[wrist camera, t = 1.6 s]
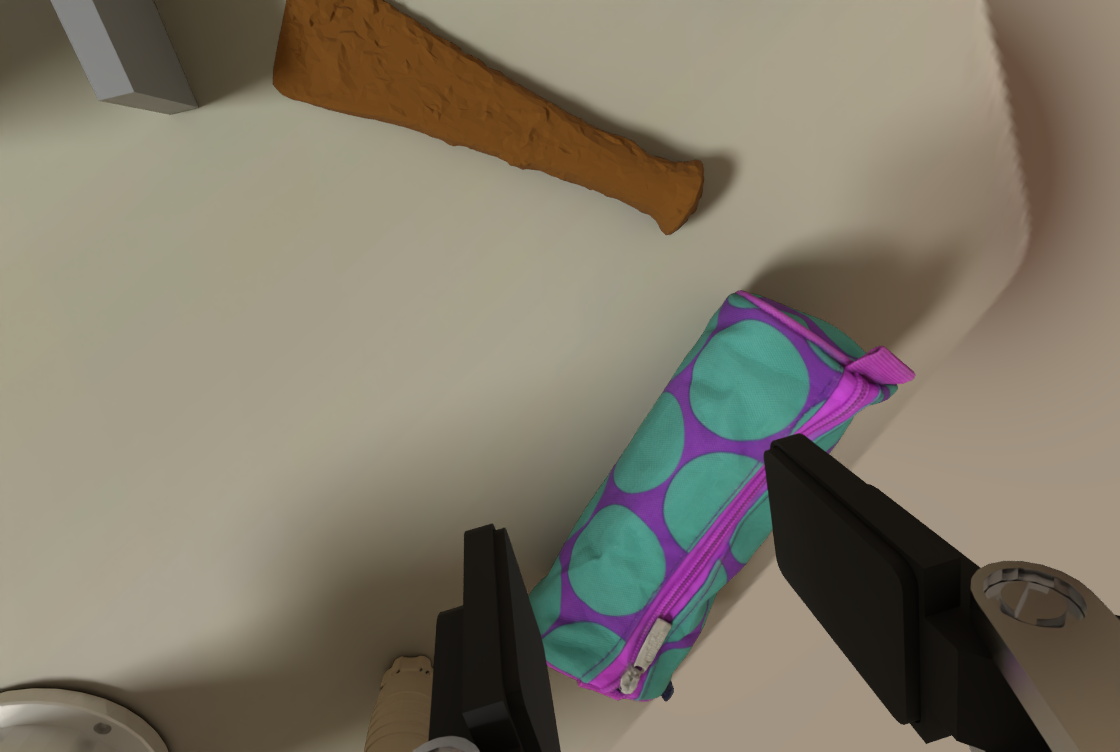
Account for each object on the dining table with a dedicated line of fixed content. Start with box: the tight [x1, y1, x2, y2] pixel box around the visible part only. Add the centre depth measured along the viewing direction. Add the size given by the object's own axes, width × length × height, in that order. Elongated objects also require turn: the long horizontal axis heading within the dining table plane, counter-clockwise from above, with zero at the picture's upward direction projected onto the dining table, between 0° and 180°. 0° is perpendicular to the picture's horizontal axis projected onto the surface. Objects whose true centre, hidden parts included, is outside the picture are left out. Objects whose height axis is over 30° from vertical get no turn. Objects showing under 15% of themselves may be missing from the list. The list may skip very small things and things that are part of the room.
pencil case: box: [529, 290, 916, 702], centre depth 29 cm, size 21×9×10 cm, turn 150°
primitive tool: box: [273, 0, 704, 235], centre depth 25 cm, size 19×6×4 cm, turn 71°
